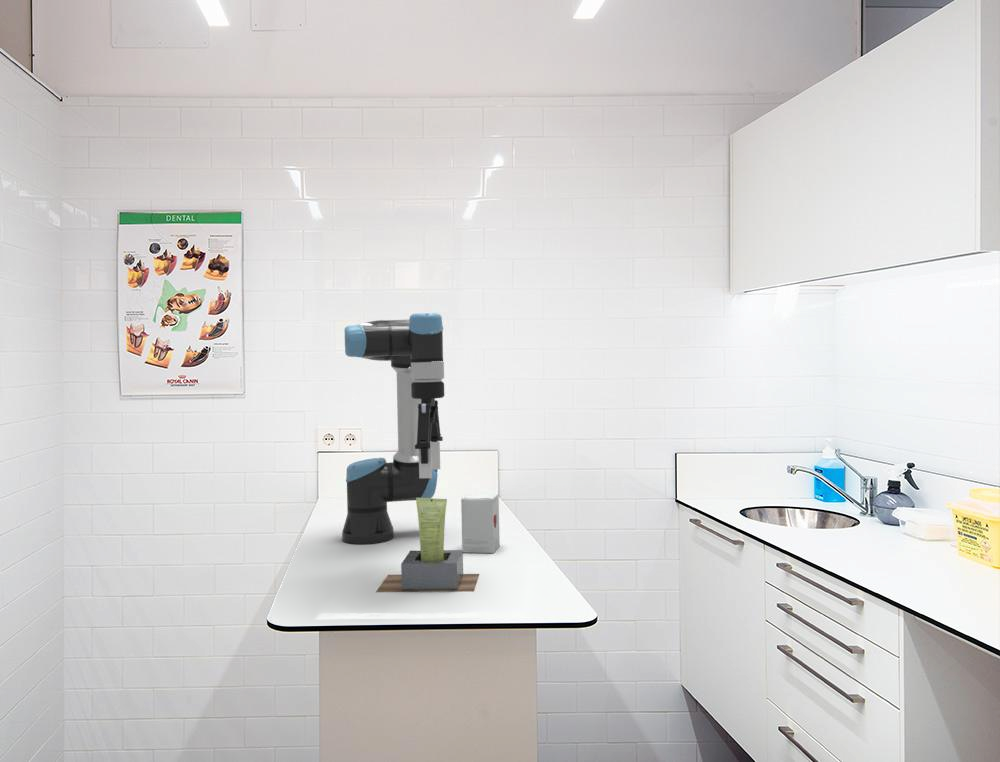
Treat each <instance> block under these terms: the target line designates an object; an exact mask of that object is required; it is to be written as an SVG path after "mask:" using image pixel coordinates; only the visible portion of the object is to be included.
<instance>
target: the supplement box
mask: <svg viewBox="0 0 1000 762" xmlns="http://www.w3.org/2000/svg"><path fill="white" fill-rule="evenodd" d="M499 499H500V498H499V492H498V493H497V492H490V493H489V492H468V493H466V495H464V496H463V497H461V498H460V503H461V506H460V508H461V511H460V512H461V550H463V553H471V554H473V553H474V554H477V553H478V554H494V553H495V552H496V551H497V550H498V549H499V547H501V545H500V543H501V542H500V509H499V508H500V500H499Z"/></svg>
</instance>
